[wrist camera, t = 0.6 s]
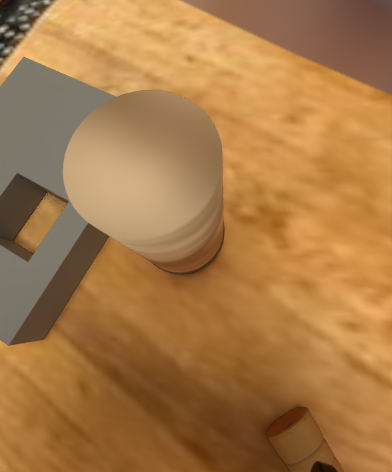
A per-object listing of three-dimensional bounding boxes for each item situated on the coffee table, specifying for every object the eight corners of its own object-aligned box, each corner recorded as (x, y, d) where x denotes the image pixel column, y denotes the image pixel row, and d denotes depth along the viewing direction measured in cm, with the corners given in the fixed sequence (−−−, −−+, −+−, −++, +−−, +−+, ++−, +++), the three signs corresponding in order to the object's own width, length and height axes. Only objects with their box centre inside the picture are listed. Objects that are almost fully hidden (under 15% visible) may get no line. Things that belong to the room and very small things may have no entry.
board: (43, 339, 21) (8, 345, 17) (-76, 256, 23) (-127, 247, 20) (167, 142, 24) (157, 114, 20) (49, 88, 26) (23, 56, 23)
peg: (202, 292, 20) (169, 271, 8) (139, 257, 22) (30, 192, 9) (237, 228, 21) (253, 123, 9) (175, 197, 22) (117, 68, 10)
